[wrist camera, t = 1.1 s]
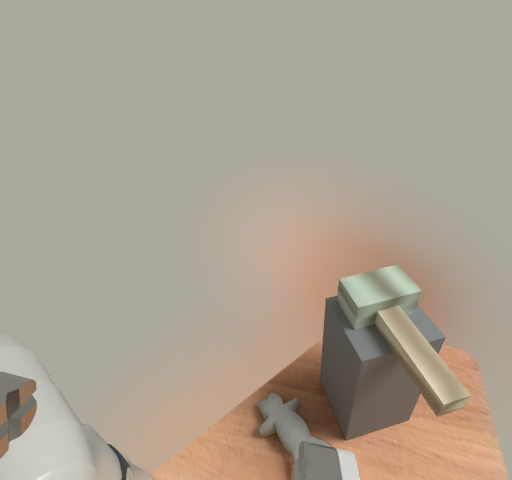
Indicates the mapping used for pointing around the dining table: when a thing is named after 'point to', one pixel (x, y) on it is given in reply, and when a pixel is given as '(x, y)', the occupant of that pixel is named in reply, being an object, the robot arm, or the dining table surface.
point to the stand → (367, 373)
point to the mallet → (401, 332)
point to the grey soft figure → (285, 424)
